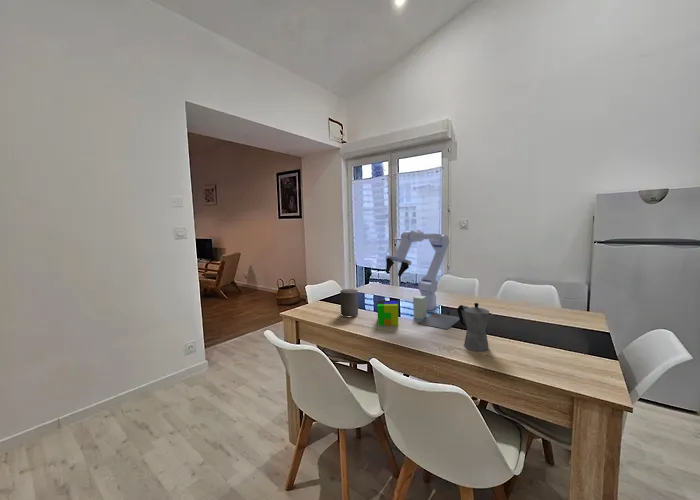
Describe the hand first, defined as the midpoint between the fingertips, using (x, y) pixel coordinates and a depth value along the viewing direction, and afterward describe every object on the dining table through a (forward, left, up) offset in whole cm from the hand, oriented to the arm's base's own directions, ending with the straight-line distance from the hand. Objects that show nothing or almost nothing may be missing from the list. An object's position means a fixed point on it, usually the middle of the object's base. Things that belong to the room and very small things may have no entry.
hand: (392, 274), depth 160 cm
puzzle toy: (+9, +2, -24) cm, 25 cm away
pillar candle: (+10, -22, -23) cm, 34 cm away
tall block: (-7, +12, -23) cm, 27 cm away
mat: (-7, +23, -23) cm, 33 cm away
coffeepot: (+15, +46, -23) cm, 53 cm away
